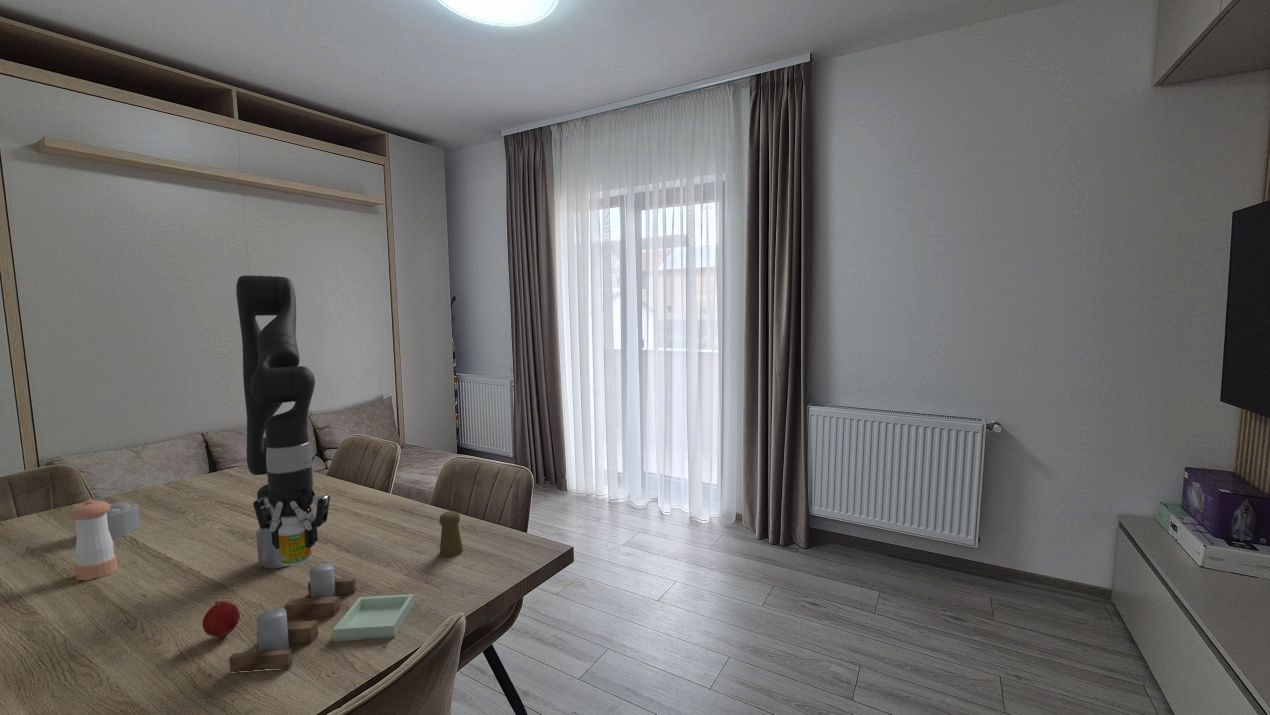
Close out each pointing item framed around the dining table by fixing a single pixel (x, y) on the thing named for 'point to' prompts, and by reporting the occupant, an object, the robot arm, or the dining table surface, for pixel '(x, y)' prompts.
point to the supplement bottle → (293, 542)
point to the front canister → (273, 630)
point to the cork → (450, 535)
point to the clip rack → (294, 629)
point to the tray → (374, 618)
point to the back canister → (322, 581)
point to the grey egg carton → (123, 519)
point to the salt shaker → (93, 541)
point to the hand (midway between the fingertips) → (295, 546)
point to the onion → (221, 619)
